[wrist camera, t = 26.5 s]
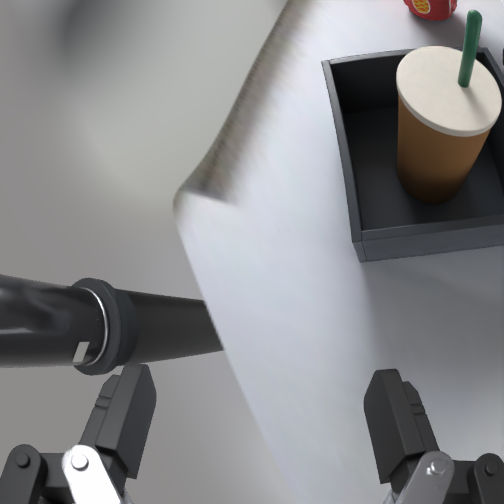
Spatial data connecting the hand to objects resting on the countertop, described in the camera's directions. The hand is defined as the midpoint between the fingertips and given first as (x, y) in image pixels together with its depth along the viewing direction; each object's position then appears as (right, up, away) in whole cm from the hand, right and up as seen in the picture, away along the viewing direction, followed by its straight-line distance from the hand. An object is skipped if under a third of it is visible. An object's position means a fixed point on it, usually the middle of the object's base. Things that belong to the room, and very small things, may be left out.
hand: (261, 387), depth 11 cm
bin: (+15, +12, +13) cm, 23 cm away
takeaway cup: (+14, +11, +13) cm, 22 cm away
